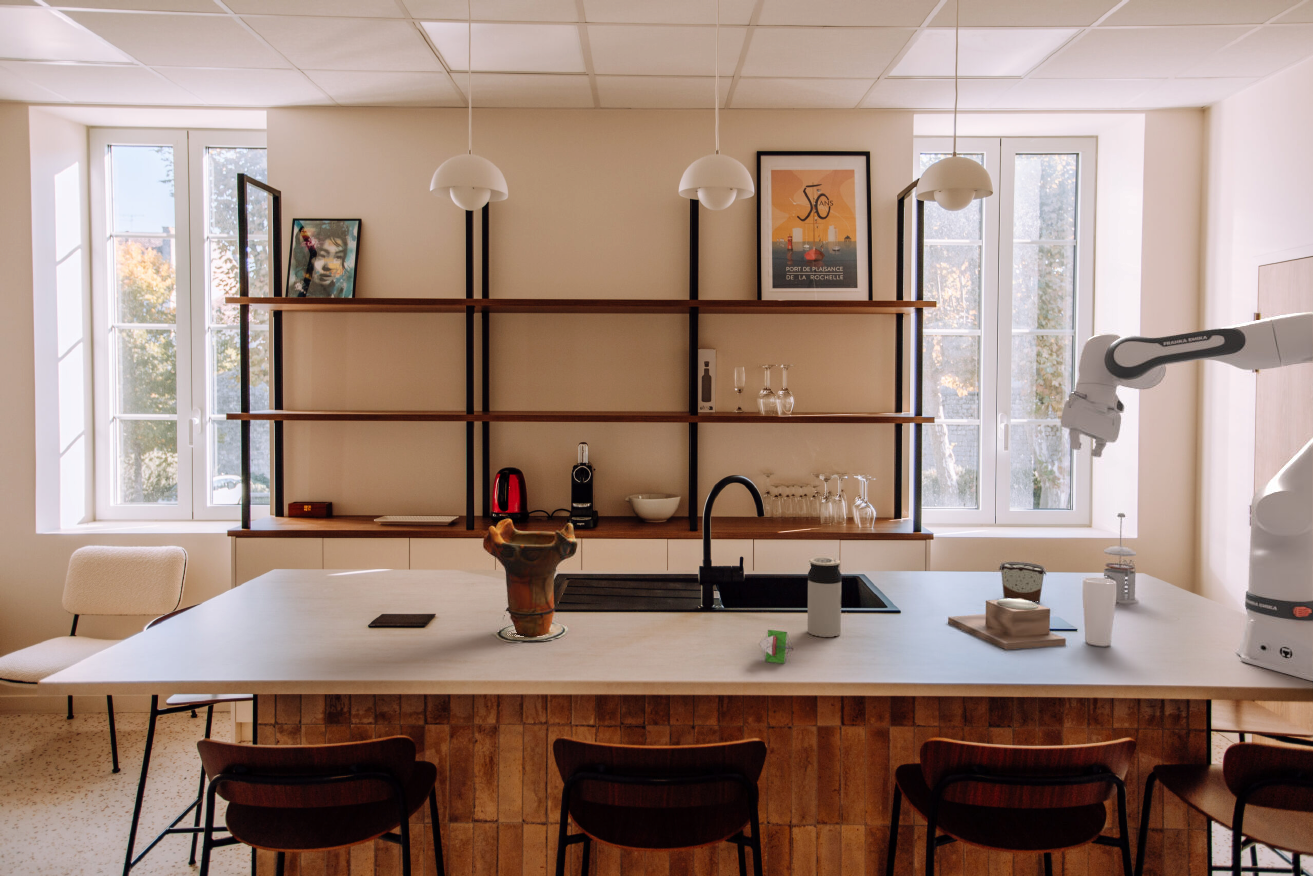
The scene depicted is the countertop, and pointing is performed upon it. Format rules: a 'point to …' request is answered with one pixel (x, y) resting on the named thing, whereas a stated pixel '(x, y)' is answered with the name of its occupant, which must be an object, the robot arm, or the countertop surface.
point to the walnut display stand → (1011, 624)
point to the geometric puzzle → (775, 646)
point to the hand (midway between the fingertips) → (1085, 453)
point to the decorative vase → (530, 577)
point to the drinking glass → (1098, 610)
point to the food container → (1022, 580)
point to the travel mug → (824, 597)
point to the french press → (1122, 572)
